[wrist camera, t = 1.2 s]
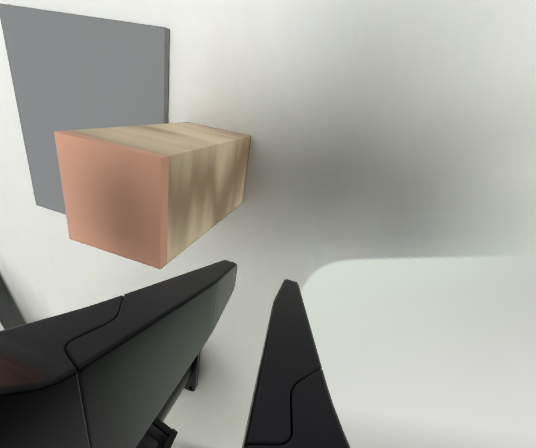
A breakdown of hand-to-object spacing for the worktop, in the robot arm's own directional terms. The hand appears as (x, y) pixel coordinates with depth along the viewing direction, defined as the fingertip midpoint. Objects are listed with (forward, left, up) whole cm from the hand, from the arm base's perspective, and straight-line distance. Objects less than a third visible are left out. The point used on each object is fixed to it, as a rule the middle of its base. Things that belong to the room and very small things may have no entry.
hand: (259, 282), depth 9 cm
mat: (0, +18, -12) cm, 22 cm away
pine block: (0, +7, -12) cm, 14 cm away
